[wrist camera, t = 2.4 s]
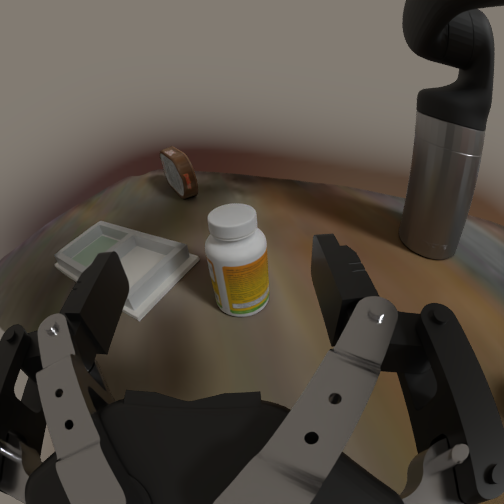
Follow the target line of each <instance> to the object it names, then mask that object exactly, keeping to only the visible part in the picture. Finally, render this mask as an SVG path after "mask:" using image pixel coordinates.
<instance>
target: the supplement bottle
mask: <svg viewBox="0 0 504 504" xmlns="http://www.w3.org/2000/svg"><path fill="white" fill-rule="evenodd" d="M208 226H209V231H210V233H211V234H210V235H209V236H208V238H207V240H206V242H205V253H206V258H207V262H208V267H209V272H210V276H211V281H212V285H213V289H214V294H215V298H216V302H217V304H218V306H219V308H220V309H221V310H222V311H223V312H224V313H226V314H228V315H231V316H236V317H246V316H251V315H254V314H256V313H258V312H259V311H261V310H262V309H263V308H264V307H265V306H266V304H267V302H268V300H269V280H268V261H267V244H266V238H265V236H264V234H263V232H262V231H261V230H260V229H258V228H257V217H256V211H255V209H254V208H253V207H251V206H249V205H246V204H238V203H235V204H226V205H222V206H220V207H217V208H215V209H214V210H212V211H211V212H210V213H209V215H208Z"/></svg>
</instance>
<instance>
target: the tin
mask: <svg viewBox="0 0 504 504" xmlns="http://www.w3.org/2000/svg"><path fill="white" fill-rule="evenodd" d="M160 159H161V161H162V165H163V168H164V174H165V177H166V179H167V181H168V183H169V185H170V186H171V187H172V188H173V189H174V190H175V191H176V193H177V194H178V195H179V196H180V197H181V198H183V199H186V198H189V197H191V196H194V195H197V194H198V184H197V179H196V176H195V172H194V169H193V167H192V165H191V163H190V160H189V159H188V157H187V156H186V154H185V153H183V152H181V151H180V150H178V149H176V148H174V147H173V146H171V147H169V148H167V149H164V150H162V151H160Z"/></svg>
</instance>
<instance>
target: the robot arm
mask: <svg viewBox="0 0 504 504" xmlns="http://www.w3.org/2000/svg"><path fill="white" fill-rule="evenodd" d="M495 6H504V0H406V3H405V7H404V12H403V23H402V24H403V33H404V37H405V40H406V42H407V44H408V46H409V47H410V49H411V50H412V51H413V52H414V53H415V54H417V55H418V56H420V57H423V58H425V59H427V60H430V61H433V62H438V63H442V64H445V65H449V66H452V67H455V68H459V75H458V79H457V80H456V81H455V82H454V83H452V84H450V85H447V86H443V87H439V88H429V89H423V90H421V91H420V92H419V93H418V97H417V113H416V126H415V139H414V147H413V155H412V163H411V170H410V176H409V183H408V188H407V194H406V199H405V205H404V209H403V214H402V219H401V223H400V228H399V237H400V239H401V241H402V242H403V243H404V244H405V245H406V246H407V247H408V248H409V249H411V250H412V251H414V252H415V253H417V254H420V255H422V256H424V257H427V258H431V259H441V260H442V259H447V258H450V257H452V256H453V255H454V253H455V251H456V249H457V246H458V243H459V240H460V237H461V234H462V231H463V228H464V225H465V222H466V219H467V216H468V212H469V209H470V205H471V201H472V198H473V194H474V190H475V185H476V181H477V177H478V172H479V167H480V162H481V156H482V149H483V144H484V137H485V129H486V122H487V118H488V114H489V111H490V108H491V102H492V91H493V76H494V38H493V33H492V28H491V25H490V23H489V20H488V19H487V17H486V16H485V14H484V13H483V12H481V11H480V10H478V8H486V7H495ZM311 275H312V281H313V285H314V288H315V291H316V295H317V298H318V301H319V305H320V308H321V311H322V315H323V318H324V322H325V325H326V329H327V332H328V336H329V339H330V343H331V346H335V347H334V348H333V349H330V350H329V351H328V353H327V354H326V356H325V357H324V359H323V361H322V363H321V364H320V366H319V367H318V369H317V371H316V372H315V374H314V376H313V377H312V379H311V380H310V382H309V384H308V385H307V387H306V388H305V390H304V391H303V393H302V394H301V396H300V397H299V399H298V400H297V402H296V403H295V405H294V406H293V408H292V409H291V410H290V409H288V408H286V407H284V406H282V405H279V404H276V403H273V402H269V401H263V400H261V394H260V392H245V393H224V394H220V395H216V396H212V397H208V398H203V399H199V400H195V401H183V400H180V399H176V398H173V397H169V396H166V395H162V394H159V393H156V392H143V391H132V390H126V393H125V398H124V399H122V400H119V401H115V399H114V398H113V396H112V394H111V392H110V390H109V388H108V386H107V383H106V381H105V379H104V376H103V374H102V372H101V369H100V367H99V364H98V362H97V361H96V360H95V357H96V354H108V350H109V347H110V344H111V341H112V338H113V335H114V332H115V330H116V327H117V324H118V321H119V318H120V316H121V313H122V310H123V307H124V305H125V302H126V299H127V297H128V294H129V281H128V278H127V276H126V273H125V271H124V268H123V266H122V263H121V261H120V258H119V256H118V254H117V253H116V252H115V251H113V252H102V253H98V254H97V256H96V258H95V259H94V261H93V262H92V264H91V265H90V266H89V267H88V268H87V269H86V270H84V271H83V272H82V274H81V275H80V277H79V279H78V280H77V283H76V284H75V286H74V287H73V290H72V291H71V293H70V294H69V296H68V298H67V300H66V302H65V304H64V305H63V307H62V309H61V311H60V313H59V314H53V315H50V316H49V317H47V318H46V319H45V320H44V321H43V322H42V323H41V324H40V326H39V328H38V331H34V332H30V333H27V332H26V331H25V329H24V328H23V327H22V326H21V325H19V324H16V325H13V326H11V327H10V328H8V329H7V330H6V332H5V333H4V334H3V336H2V338H1V341H0V491H1V492H3V493H5V494H8V495H10V496H12V497H14V498H15V499H17V500H19V501H21V502H23V503H25V504H478V503H481V502H485V501H488V500H491V499H494V498H496V497H498V496H500V495H501V494H502V493H503V492H504V428H503V425H502V422H501V418H500V415H499V412H498V410H497V407H496V404H495V401H494V398H493V396H492V393H491V391H490V388H489V385H488V383H487V381H486V378H485V376H484V373H483V371H482V369H481V366H480V364H479V362H478V360H477V358H476V355H475V353H474V351H473V349H472V347H471V345H470V343H469V341H468V339H467V337H466V335H465V333H464V331H463V329H462V327H461V325H460V324H459V322H458V320H457V318H456V316H455V315H454V313H453V312H452V311H451V310H450V309H449V308H448V307H446V306H444V305H442V304H438V303H431V304H428V305H426V306H425V307H424V308H423V309H422V311H421V313H420V314H415V313H405V312H399V311H397V309H396V308H395V306H394V305H393V304H392V303H391V302H390V301H388V300H386V299H384V298H382V297H379V295H378V293H377V291H376V289H375V287H374V285H373V283H372V281H371V279H370V277H369V275H368V274H367V272H366V271H365V268H364V266H363V264H362V263H361V261H360V259H359V257H358V255H357V253H356V252H355V251H353V250H352V249H351V248H350V247H348V246H347V245H345V246H340V245H339V243H338V241H337V239H336V238H335V236H334V234H321V235H314V237H313V248H312V262H311ZM20 369H21V370H22V371H23V372H24V373H25V374H26V375H27V376H28V380H27V383H26V386H25V389H24V393H23V396H22V399H21V401H20V400H19V399H17V397H16V396H15V393H14V386H15V382H16V380H17V377H18V374H19V371H20ZM380 371H386V372H397V374H398V378H399V381H400V384H401V388H402V391H403V395H404V398H405V402H406V406H407V409H408V413H409V417H410V421H411V425H412V429H413V434H414V438H415V442H416V447H417V452H418V454H417V455H416V456H415V457H414V458H413V459H412V461H411V462H410V464H409V467H408V472H407V484H406V486H405V488H404V490H403V492H402V493H401V494H400V495H398V494H397V493H396V492H395V491H394V490H392V489H391V488H390V487H388V486H387V485H385V484H384V483H383V482H381V481H380V480H378V479H377V478H376V477H374V476H373V475H372V474H370V473H369V472H368V471H366V470H365V469H364V468H362V467H361V466H360V465H359V464H357V463H356V462H355V461H353V460H352V459H351V458H350V457H348V456H347V455H346V454H345V453H343V452H342V451H343V449H344V447H345V445H346V443H347V442H348V440H349V438H350V436H351V434H352V432H353V430H354V428H355V426H356V425H357V423H358V421H359V419H360V416H361V414H362V412H363V410H364V408H365V406H366V404H367V402H368V400H369V397H370V395H371V393H372V391H373V388H374V386H375V384H376V381H377V379H378V376H379V374H380ZM46 424H47V426H48V430H49V433H50V436H51V439H52V443H53V445H54V448H55V452H54V453H53V454H52V455H51V456H50V457H49V458H47V459H46V460H45V461H44V462H41V459H40V455H41V449H42V444H43V438H44V433H45V428H46Z"/></svg>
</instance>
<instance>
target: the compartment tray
mask: <svg viewBox="0 0 504 504" xmlns="http://www.w3.org/2000/svg"><path fill="white" fill-rule="evenodd" d="M113 251H115V252H116V253H117V254H118V256H119V258H120V261H121V263H122V266H123V268H124V271H125V273H126V276H127V278H128V281H129V294H128V297H127V299H126V302H125V305H124V307H123V310H122V312H124V313H126V314H127V315H129V316H131V317H133V318H134V319H136V320H138V321H140V320H141V319H142V318H143V317H144V316H145V315H146V314H147V313H148V312H149V311H150V310H151V309H152V308H153V307H154V306H155V305H156V304H157V303H158V302H159V301H160V300H161V299H162V298H163V297H164V296H165V294H166V293H167V292H168V291H169V290H170V289H171V288H172V287H173V286H174V285H175V284H176V283H177V282H178V281H179V280H180V279H181V278H182V277H183V276H184V275H185V274H186V273H187V272H188V271H189V270H190V269H191V268H192V267H193V266H194V265H195V264H196V263H197V262H198V261H199V256H196V255H193V254H189V251H188V247H187V244H183V243H179V242H176V241H172V240H169V239H165V238H161V237H158V236H154V235H150V234H147V233H143V232H140V231H136V230H132V229H129V228H125V227H122V226H118V225H114V224H111V223H107V222H104V221H99V222H98V223H96V224H95V225H94V226H92V227H91V228H89V229H88V230H87V231H85V232H84V233H82V234H81V235H80V236H78V237H77V238H76V239H74V240H73V241H72V242H70V243H69V244H68V245H66V246H65V247H64V248H62V249H61V250H60V251H59V252H57V253H56V254H55V255H54V256H55V258H56V260H57V263H56V264H55V267H56V268H57V269H58V270H59V271H61V272H62V273H64V274H65V275H66V276H68V277H69V278H71V279H72V280H74V281H75V282H77V280H78V279H79V277H80V275H81V274H82V272H83V271H84V270H86V269H87V268H88V267H89V266H90V265H91V264H92V262H93V261H94V259H95V258H96V256H97V254H98V253H102V252H113Z"/></svg>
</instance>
